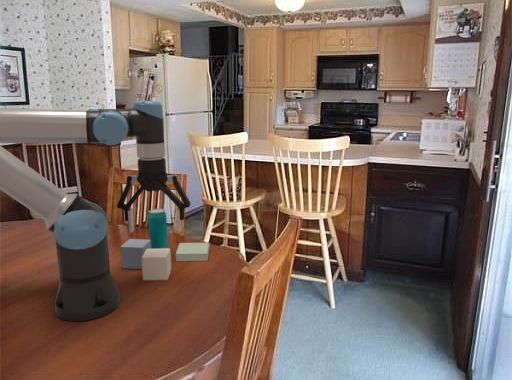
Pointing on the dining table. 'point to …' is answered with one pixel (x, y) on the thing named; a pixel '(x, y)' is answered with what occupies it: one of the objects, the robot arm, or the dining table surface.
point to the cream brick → (156, 264)
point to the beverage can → (158, 228)
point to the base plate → (192, 252)
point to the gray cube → (134, 253)
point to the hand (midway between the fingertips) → (155, 231)
